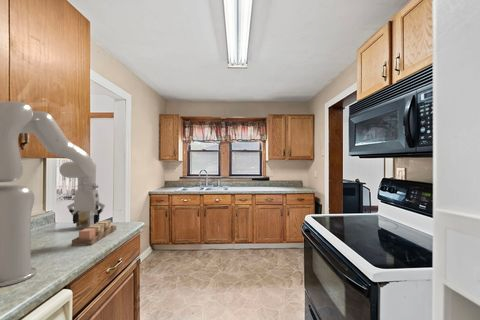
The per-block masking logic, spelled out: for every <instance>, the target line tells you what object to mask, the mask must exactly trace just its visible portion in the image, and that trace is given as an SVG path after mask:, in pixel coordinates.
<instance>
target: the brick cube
mask: <svg viewBox="0 0 480 320" xmlns="http://www.w3.org/2000/svg"><path fill="white" fill-rule="evenodd" d="M78 237H79V239H92V238H93V237H95V228H87V229H80V230H79V231H78Z"/></svg>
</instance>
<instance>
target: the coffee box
mask: <svg viewBox="0 0 480 320" xmlns="http://www.w3.org/2000/svg"><path fill="white" fill-rule="evenodd" d="M78 214H79V222H78V223H75V224H76V226H75V229H77V230H83V229H87V228H89V226H92V225H94V224H97V223H98V222H97V223H94V215H95V213H94V212H93V211H79V212H78Z"/></svg>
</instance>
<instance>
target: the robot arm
mask: <svg viewBox="0 0 480 320" xmlns="http://www.w3.org/2000/svg"><path fill="white" fill-rule="evenodd" d="M20 134H33V135H34V136H35V137H36V139H37V140H38V141H39V142H40V144H41V145H42V147H44V149H45V150H46V151H47V152H48V153H51V154H52V155H55V156H57V157H58V156H59V157H62V158H65V159H68V160H70V161H65V162H64V163H62V164H61V165H60V167H59V173H60V175H61V176H62V177H64V178H67V179H68V178H69V179H77V190H76V191H75V195H74V199H73V203H70V204H69V205H66V206H67V209H68V211H69V212H70V214H71V216H72V223H73V225H74V224H76V223H78V222H79V214H78V212H79V211H93V212H94V213H95V215H94V223H98V222H100V214H101V213H102V212H104V209H105V207H106V205H105V204H104V203H101V202H100V196H99V192H98V191H99V190H98V189H97V188H99V185H98V184H97V165H96V162H94V160H93V159H92V158H91V156H90V155H89V154H88V152H86V151H85V150H84V149H82V148H81V147H80V146H78V145H77V144H75V143H74V142H72V141H70V140H69V139H68V138H67V136H66V135H65V133H64V132H63V131H62V129H61V128H60V126H59V124H58V123H57V122H56V120H55V119H54V117H53V116H52V115H51V114H50V113H48V112H46V111H42V110H33V109H32V107H31V106H30V105H29V104H28V103H25V102H22V101H16V100H15V101H14V100H13V101H11V100H10V101H8V100H7V101H5V100H4V101H3V100H2V101H0V183H10V182H11V183H12V182H15V181H18V180H19V179H20V178H22V176H23V175H24V174H23V173H24V168H23V162H22V157H21V152H20V147H19V136H20ZM34 203H35V194H34V192H33V190H32V189H30V188H29V187H27V186H25V185H19V184H18V185H17V184H0V287H5V286H9V285H10V286H11V285H14V284H17V283H20V282H24V281H26V280H28V279H30V278H32V277H33V276H35V275H36V274H37V270H38V269H37V267H35V266H31V265H32V262H31V259H32V258H31V257H32V256H31V254H32V253H31V251H32V249H31V247H32V246H31V245H32V241H31V240H32V239H31V238H32V236H31V233H32V232H31V230H32V228H31V227H32V226H31V224H32V223H31V222H32V219H31V218H32V211H33V208H34V205H35V204H34Z"/></svg>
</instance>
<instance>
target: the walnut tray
mask: <svg viewBox="0 0 480 320" xmlns="http://www.w3.org/2000/svg"><path fill="white" fill-rule="evenodd" d="M89 228H95V237H93V238H92V239H79V236H78V237H75V238H73V239H72V240H71V246H92V245H94V244H96V243H98V242H99V241H100V240H101V241H102V239H104V238H106V237H107V236H109V235H111V234H113V233H114V232H115V231H116V230H117V225H112V220H111V219H110V220H99V222H97V224H94V225H92V226H89Z"/></svg>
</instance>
